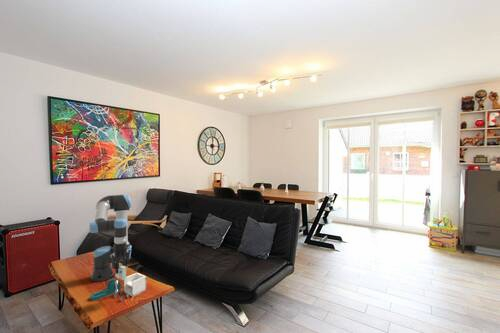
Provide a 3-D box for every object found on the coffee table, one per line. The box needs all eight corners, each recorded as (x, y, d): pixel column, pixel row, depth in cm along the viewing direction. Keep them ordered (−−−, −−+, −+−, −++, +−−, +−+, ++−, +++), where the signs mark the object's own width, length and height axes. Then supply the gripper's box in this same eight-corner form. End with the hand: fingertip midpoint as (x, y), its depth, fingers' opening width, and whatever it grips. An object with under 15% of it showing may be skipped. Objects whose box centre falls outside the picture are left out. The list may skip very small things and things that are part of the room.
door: (113, 277, 166) (113, 265, 165) (119, 275, 169) (118, 263, 168) (121, 280, 161) (120, 268, 161) (126, 278, 164) (126, 266, 163)
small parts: (112, 296, 167) (112, 281, 167) (119, 292, 171) (119, 278, 171) (121, 301, 161) (121, 286, 161) (128, 297, 165) (128, 283, 165)
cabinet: (124, 291, 173) (123, 277, 173) (137, 285, 181) (137, 272, 181) (133, 296, 167) (132, 282, 167) (146, 290, 175) (146, 276, 175)
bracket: (116, 287, 179) (116, 277, 179) (120, 290, 175) (120, 279, 175) (88, 298, 165) (88, 286, 165) (92, 302, 161) (92, 290, 160)
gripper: (111, 246, 156) (111, 283, 157) (134, 240, 169) (134, 273, 170) (105, 244, 160) (105, 279, 161) (128, 238, 173) (128, 271, 174)
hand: (120, 276), depth 165 cm, fingers closed on door, 3 cm apart
